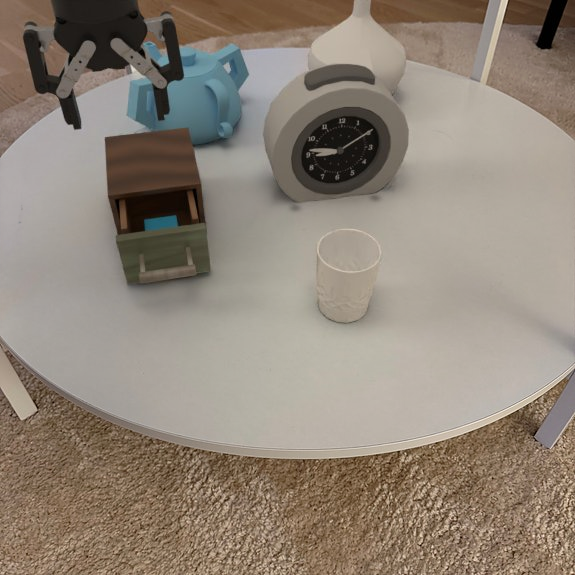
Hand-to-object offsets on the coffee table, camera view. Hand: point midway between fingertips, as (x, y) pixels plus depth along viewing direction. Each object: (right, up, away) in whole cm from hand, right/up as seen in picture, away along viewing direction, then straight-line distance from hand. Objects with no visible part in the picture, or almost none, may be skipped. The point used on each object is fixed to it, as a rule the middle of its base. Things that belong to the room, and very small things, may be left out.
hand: (120, 121), depth 63 cm
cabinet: (-2, -6, +30) cm, 31 cm away
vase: (+31, +20, +55) cm, 66 cm away
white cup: (+25, -20, +17) cm, 36 cm away
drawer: (+1, -13, +22) cm, 26 cm away
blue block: (+1, -12, +21) cm, 24 cm away
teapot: (0, +13, +48) cm, 50 cm away
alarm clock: (+25, -1, +36) cm, 44 cm away
